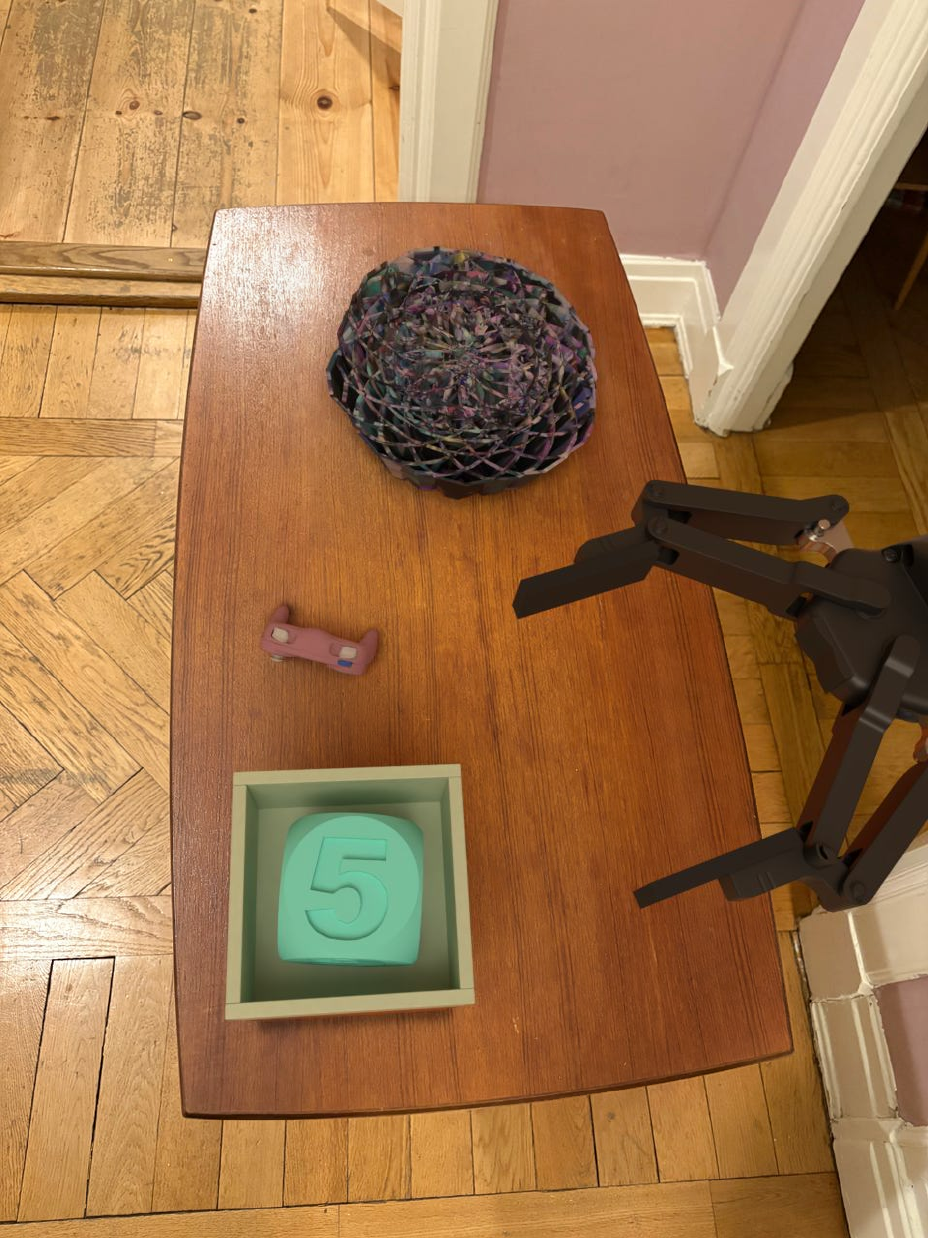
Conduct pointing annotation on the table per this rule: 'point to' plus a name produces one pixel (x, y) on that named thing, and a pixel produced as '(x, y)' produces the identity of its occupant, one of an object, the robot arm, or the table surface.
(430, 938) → the bin
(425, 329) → the decorative bowl
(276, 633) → the video game controller
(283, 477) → the table surface
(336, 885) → the decorative dice
